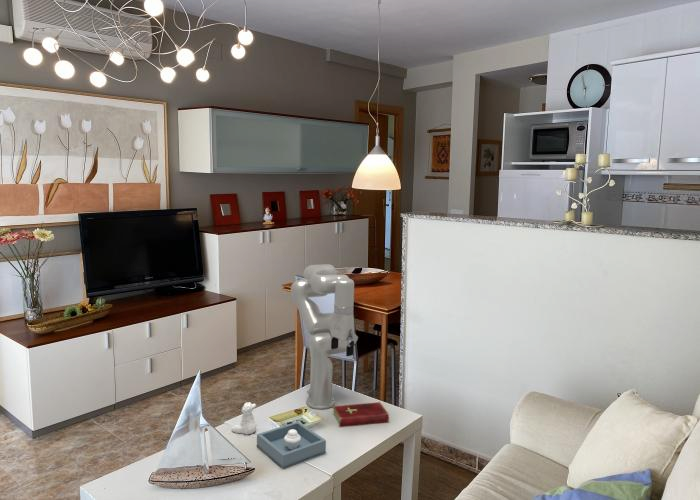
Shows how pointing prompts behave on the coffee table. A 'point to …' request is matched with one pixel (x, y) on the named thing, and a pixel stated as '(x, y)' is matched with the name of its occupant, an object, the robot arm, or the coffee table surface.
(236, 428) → the white creature statuette
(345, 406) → the hardcover book
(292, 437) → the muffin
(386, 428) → the coffee table surface
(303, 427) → the bin
